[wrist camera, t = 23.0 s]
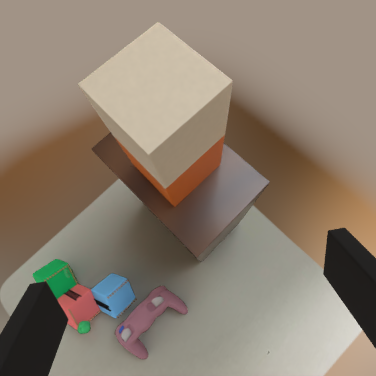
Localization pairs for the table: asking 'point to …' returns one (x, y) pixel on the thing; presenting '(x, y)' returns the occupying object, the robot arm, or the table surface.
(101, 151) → the shelf
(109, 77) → the cream and orange block
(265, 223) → the table surface
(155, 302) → the video game controller
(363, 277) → the robot arm
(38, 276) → the building blocks
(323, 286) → the table surface
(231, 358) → the table surface
